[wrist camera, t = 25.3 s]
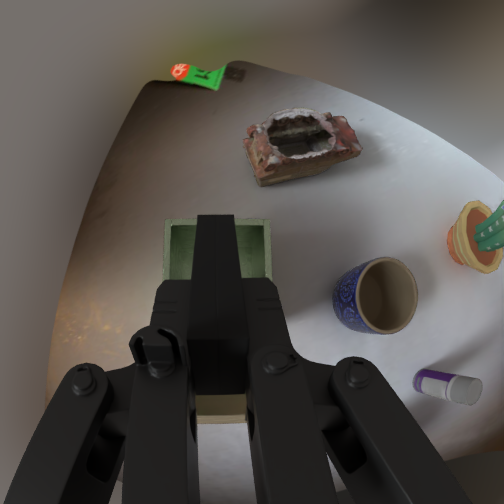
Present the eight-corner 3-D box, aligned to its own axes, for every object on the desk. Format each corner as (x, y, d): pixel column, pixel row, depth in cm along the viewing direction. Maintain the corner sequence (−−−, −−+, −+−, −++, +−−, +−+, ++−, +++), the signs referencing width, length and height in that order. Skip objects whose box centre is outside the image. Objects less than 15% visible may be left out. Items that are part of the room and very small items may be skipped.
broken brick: (234, 129, 53) (239, 96, 43) (331, 123, 56) (348, 94, 46) (248, 192, 50) (256, 165, 41) (352, 180, 53) (375, 156, 44)
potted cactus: (446, 198, 56) (524, 151, 32) (484, 237, 56) (561, 206, 31) (428, 253, 52) (523, 217, 28) (470, 292, 52) (559, 274, 28)
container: (431, 367, 48) (484, 375, 33) (428, 390, 47) (480, 403, 32) (414, 369, 47) (468, 380, 33) (411, 393, 46) (463, 408, 31)
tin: (177, 243, 47) (164, 218, 35) (256, 243, 48) (270, 219, 36) (177, 329, 44) (163, 335, 32) (258, 329, 46) (274, 334, 33)
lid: (132, 412, 17) (134, 420, 17) (313, 408, 19) (311, 416, 19) (162, 332, 31) (162, 338, 31) (275, 331, 33) (274, 337, 33)
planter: (391, 306, 49) (429, 302, 38) (348, 345, 47) (381, 351, 36) (359, 256, 50) (393, 241, 39) (313, 293, 48) (340, 286, 37)
